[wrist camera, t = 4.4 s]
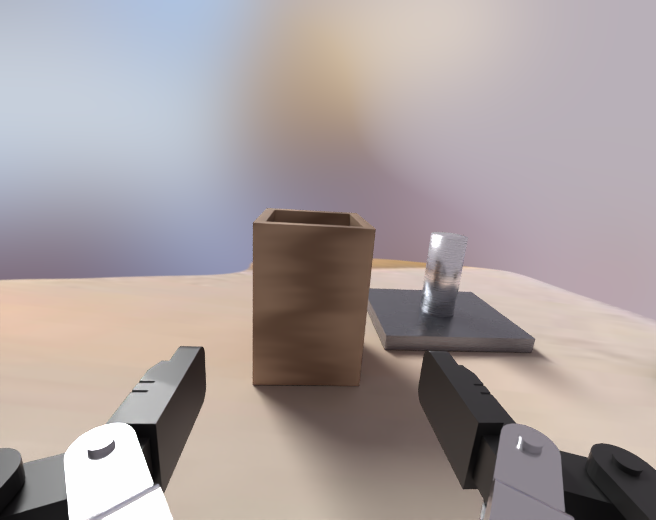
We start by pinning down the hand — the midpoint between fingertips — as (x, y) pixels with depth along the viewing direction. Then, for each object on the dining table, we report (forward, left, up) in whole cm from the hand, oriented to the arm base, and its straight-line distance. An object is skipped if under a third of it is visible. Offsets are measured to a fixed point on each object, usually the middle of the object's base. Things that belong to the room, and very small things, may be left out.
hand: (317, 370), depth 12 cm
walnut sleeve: (0, +10, -6) cm, 12 cm away
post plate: (+12, +16, -6) cm, 21 cm away
